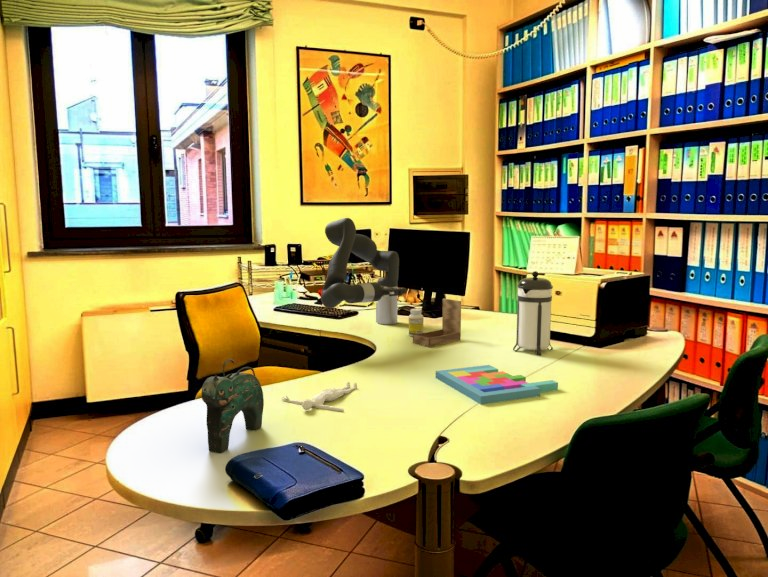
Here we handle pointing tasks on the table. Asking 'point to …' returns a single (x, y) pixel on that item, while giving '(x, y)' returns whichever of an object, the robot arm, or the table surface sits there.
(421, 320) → the pill bottle
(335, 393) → the figure model
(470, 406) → the table surface
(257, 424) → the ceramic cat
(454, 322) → the brown angle bracket
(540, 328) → the coffee press
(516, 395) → the tetris game
